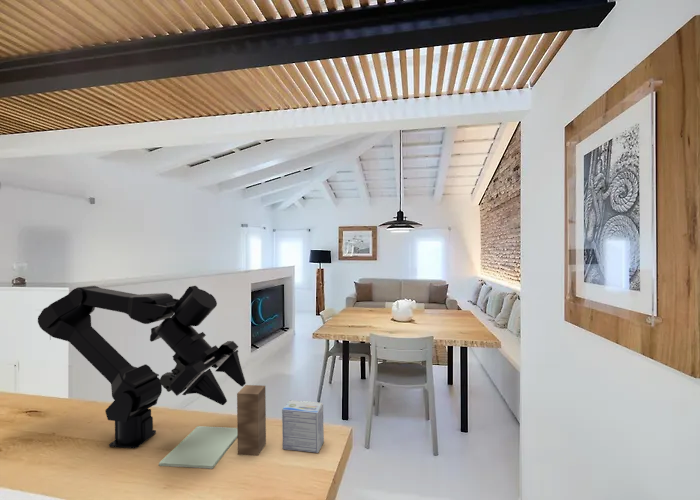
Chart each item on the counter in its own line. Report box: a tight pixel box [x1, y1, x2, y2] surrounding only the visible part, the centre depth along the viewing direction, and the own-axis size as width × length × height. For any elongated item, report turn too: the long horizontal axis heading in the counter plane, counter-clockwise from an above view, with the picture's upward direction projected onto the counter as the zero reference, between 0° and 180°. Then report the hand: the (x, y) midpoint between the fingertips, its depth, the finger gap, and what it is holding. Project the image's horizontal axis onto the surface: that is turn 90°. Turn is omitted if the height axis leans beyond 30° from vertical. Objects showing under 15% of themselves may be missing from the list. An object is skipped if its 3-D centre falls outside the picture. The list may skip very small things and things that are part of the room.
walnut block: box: [236, 384, 267, 457], centre depth 72 cm, size 4×4×12 cm
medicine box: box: [281, 399, 325, 454], centre depth 73 cm, size 8×4×9 cm, turn 78°
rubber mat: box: [158, 425, 237, 470], centre depth 73 cm, size 11×14×1 cm
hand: (235, 393), depth 72 cm, fingers open, 9 cm apart
